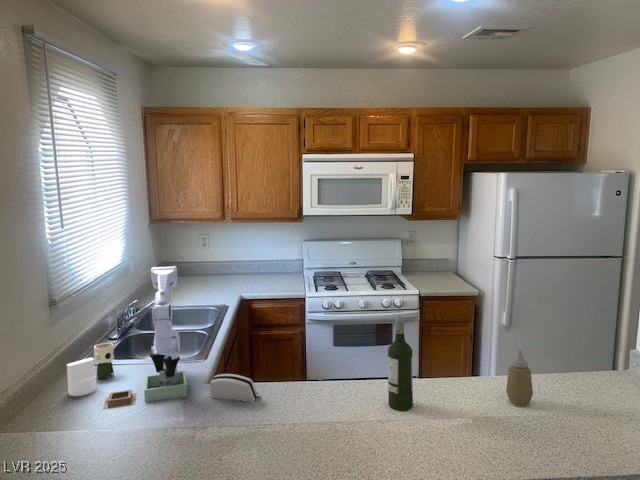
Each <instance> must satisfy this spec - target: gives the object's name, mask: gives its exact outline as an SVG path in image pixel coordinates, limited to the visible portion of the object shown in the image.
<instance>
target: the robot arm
mask: <svg viewBox="0 0 640 480" xmlns="http://www.w3.org/2000/svg"><path fill="white" fill-rule="evenodd" d="M150 279H151V282H152V286H153V288H154V289H156V290H157V291H156V292H155V294H154V302H153V303H154V304H153V305H154V306H152V310H151V314H152V321H153V327H154V337H153V346H151V348H150V350H151V352H152V353H150V354H149V357H150V358H151V360H152V362H153V365H154V368H155V371H156V373H157V374H158V373H159V371H160V370H161V369H166V370H167V376H168V378H170V377H173V376H174V374H175V372H178V369H179V368H178V363H179V361H180V358H181V357H180V356H179V354H178V353H179V352H180V351H181V338H180V333H179V332H178V331H177V330H175V329H174V328H173V306H172V292H173V289H174V288H176V287H178V286H177V285H178V267H177V266H176V265H172V266H158V267H156V266H155V267H154V266H152V267H151V269H150Z"/></svg>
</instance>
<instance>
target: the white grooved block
mask: <svg viewBox="0 0 640 480" xmlns="http://www.w3.org/2000/svg"><path fill="white" fill-rule="evenodd" d="M66 374H67V390H68V393H67V395H69V396H71V397H80V396H81V397H82V396H85V395H86V396H87V395H88V394H92V393H94V392H95V391H96V390H97V384H96V382H97V381H96V378H97V377H96V369H95V359H94V358H93V357H88V358H84V359H81V360H77V361H74V362H69V363H67V364H66Z"/></svg>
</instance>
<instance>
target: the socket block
mask: <svg viewBox="0 0 640 480" xmlns="http://www.w3.org/2000/svg"><path fill="white" fill-rule="evenodd" d="M137 395H138V393H137V392H135V393H133V389H127V390H120V391H114V392H109V395H108V397H105V401H104V404H103V407H102V410H108V409H115V408H120V407H121V408H122V407H127V406H134V405H136V401H137Z"/></svg>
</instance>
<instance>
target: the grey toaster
mask: <svg viewBox="0 0 640 480" xmlns="http://www.w3.org/2000/svg"><path fill="white" fill-rule="evenodd" d="M209 387H210V388H209V389H210V396H211V398H214V399H215V398H216V399H223V400H231V399H235V400H234V401H240V400H246V401H245V402H248V401H254V400H255V401H256V398H257V395H259V396H260V394H259V391H257V389H256V386H255V384H254V381H253V379H252V378H249V377H246V376H243V375H240V374H233V373H221V374H217V375H214V376H213V377H212V379H211V380H210V383H209ZM255 401H254V402H255Z"/></svg>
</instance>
